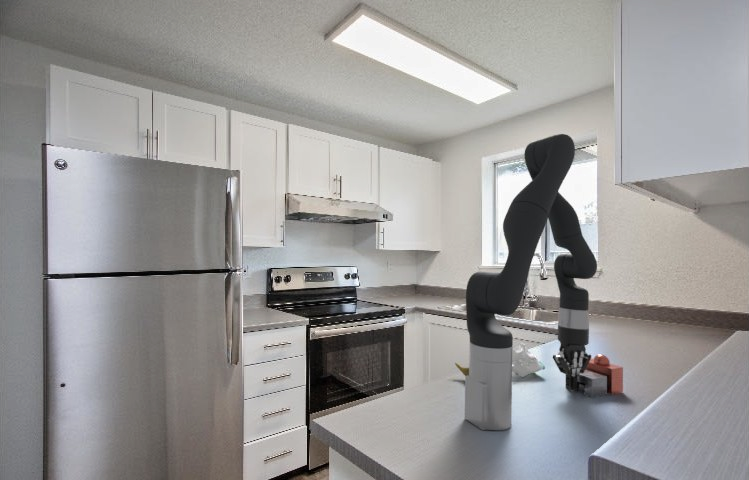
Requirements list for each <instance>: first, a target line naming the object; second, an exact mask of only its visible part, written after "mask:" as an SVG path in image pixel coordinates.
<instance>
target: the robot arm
mask: <svg viewBox="0 0 749 480" xmlns="http://www.w3.org/2000/svg"><path fill="white" fill-rule="evenodd" d="M575 154H576V147H575V142H574V140H573V138H572V137H571V136H570V135H569V134H565V133H557V134H553V135H549V136H547V137H544V138H540V139H536V140H533V141H530V142H529V143H528V144H527V146H526V147H525V149H524V161H525V165H526V168H527V171H528V174H529V176H530V179H531V181H530V182H529V183H528V184H527V185H526V186H525V187H523V189H521V190H520V191H519V193H517V195H516V196H515V197H514V198H513V199H512V201H511V203H510V205H509V207H508V209H507V212H506V213H505V216H504V219H503V223H502V232H503V236H504V239H505V242H506V245H507V251H508V255H507V258H506V261H505V264H504V267H503V268H502V271H500V272H496V271H495V272H494V271H477V272H475V273H473V274H472V275H471V276H470V277H469V279H468V281H467V285H466V289H465V290H466V291H465V311H466V312H465V313H466V314H465V315H466V328H467V332H468V334H469V359H468V361H469V363H468V368H469V376H464V377H465V378H464V379H465V380H464V382H465V383H464V385H465V386H464V419H465V420H466V421H468V422H470V423H471V424H473V425H474V426H476V427H477V428H479V429H480V430H481V431H482V430H483V431H484V430H489V431H503V430H504V431H505V430H508V429H510V428H511V427H512V417H513V416H512V415H513V413H512V412H513V411H512V410H513V408H512V406H513V404H512V403H513V402H512V401H513V397H512V396H513V371H512V366H513V364H512V349H513V348H514V347H513V346H514V345H513V341H514V339H513V338H514V337H513V333H512V332H511V331H510V330H509V329H508V328H506V327H504V326H503V325H502V324H501V323H500V322H499V321H498V320H497V318H496V315H499V316H510V315H513V314H515V312H516V311H517V310H518V308H519V306H520V304H521V301H522V298H523V295H524V292H525V288H526V284H527V280H528V277H529V273H530V268H531V266H532V262H533V259H534V256H535V253H536V250H537V247H538V243H539V241H540V238H541V236H542V235H543V232H544V229H545V227H546V225H547V222H549V226H550V230H551V233H552V238H553V241H554V244H555V245H556V246H557V247H559V248H562V249H565V250H567V251H568V252H562V253H560V254H558V255H557V256H556V258H555V259H554V262H553V271H554V275H555V278H556V279H555V280H556V283H557V286H558V290H559V307H558V308H559V309H558V315H557V318H558V319H557V321H558V322H557V340H558V342H560V345H559V349H558V351H559V352H558V353H557V354H553V355H552V359H553V361H554V363H555V365H556V366H557V368H558V370H559V372H560V373H562V374H564V375H565V388H566V389H567V390H569V391H577V390H578V389H577V382H578V376H579V375H580V373H582V374H583V373H584V371H585V369H586V367H587V365H588V363H589V361H590V359H592V354H590V353H588V352H587V351H586V350H587V348H586V346H587V345H589V343H590V341H589V340H590V315H589V302H590V301H589V299H590V298H589V297H590V294H589V291H588V289H586V288H583V287H581V286H578V285H577V284H576V281H575V279H580V280H589V279H591V278H593V277H594V276H595V275H596V273H597V269H598V262H597V259H596V256H595V254H594V253H593V251H592V249H591V248H590V247H589V245H588V242H587V241H586V240H585V238H584V236H583V232H582V228H581V225H580V220H579V217H578V214H577V212H576V210H575V208H574V207H573V206H572V205H571V204H570V202H569V201H568V200H567V199H566V198H565V197H564V196H563V195H562V194H561V193H560V192H559V190H560V188H561V186H562V184H563V183H564V180H565V178H566V177H567V175H568V173H569V171H570V169H571V168H572V164H573V162H574V159H575Z"/></svg>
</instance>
